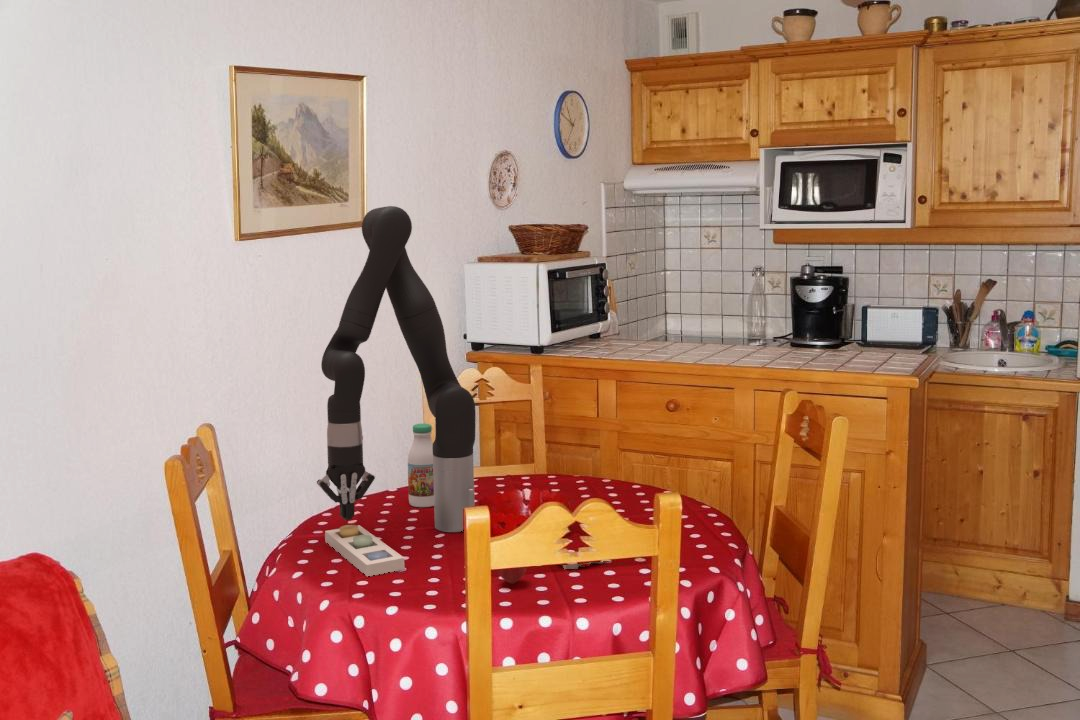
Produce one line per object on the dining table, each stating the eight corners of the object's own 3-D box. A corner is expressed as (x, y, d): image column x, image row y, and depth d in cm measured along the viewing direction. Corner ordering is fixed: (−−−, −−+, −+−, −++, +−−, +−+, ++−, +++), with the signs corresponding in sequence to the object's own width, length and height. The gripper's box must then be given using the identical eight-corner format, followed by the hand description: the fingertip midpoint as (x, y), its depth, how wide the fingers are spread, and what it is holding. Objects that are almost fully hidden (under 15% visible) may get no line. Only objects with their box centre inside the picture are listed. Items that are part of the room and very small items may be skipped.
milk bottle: (406, 501, 263) (403, 423, 260) (436, 498, 265) (434, 420, 263) (412, 509, 256) (409, 429, 253) (443, 506, 258) (440, 426, 255)
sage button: (368, 542, 225) (368, 533, 225) (375, 548, 222) (375, 538, 221) (350, 546, 223) (350, 537, 223) (357, 551, 220) (357, 542, 219)
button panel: (359, 535, 236) (359, 525, 235) (404, 569, 213) (404, 557, 213) (325, 542, 232) (324, 531, 231) (367, 576, 209) (366, 564, 209)
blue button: (383, 559, 218) (383, 550, 218) (390, 564, 214) (390, 555, 214) (365, 562, 216) (364, 553, 216) (372, 568, 212) (371, 559, 212)
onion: (523, 590, 201) (522, 549, 200) (494, 588, 202) (493, 548, 201) (529, 579, 207) (529, 540, 206) (501, 577, 208) (500, 538, 207)
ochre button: (354, 532, 232) (354, 523, 232) (361, 537, 229) (360, 528, 229) (337, 535, 230) (337, 526, 230) (343, 540, 227) (343, 531, 227)
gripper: (367, 435, 233) (369, 510, 236) (309, 441, 227) (312, 519, 229) (380, 441, 227) (382, 519, 229) (320, 448, 220) (323, 528, 223)
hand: (347, 519), depth 229 cm, fingers closed
